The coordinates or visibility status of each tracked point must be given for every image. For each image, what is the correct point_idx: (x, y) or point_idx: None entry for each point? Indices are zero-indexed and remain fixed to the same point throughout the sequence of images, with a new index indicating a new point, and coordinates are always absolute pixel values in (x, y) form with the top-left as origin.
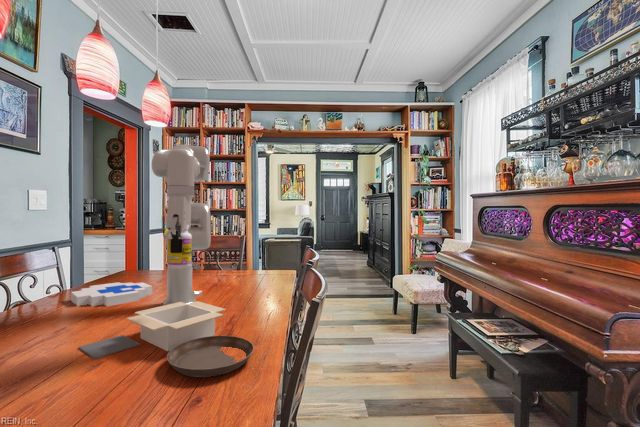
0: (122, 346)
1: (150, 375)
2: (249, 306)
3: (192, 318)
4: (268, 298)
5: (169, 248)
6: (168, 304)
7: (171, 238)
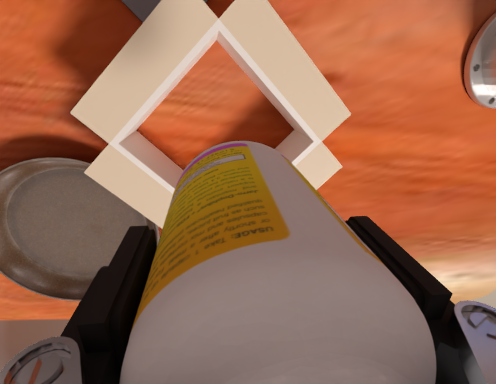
0: (149, 1)
1: (7, 130)
2: (400, 246)
3: (169, 191)
4: (448, 277)
5: (177, 217)
6: (488, 28)
7: (22, 363)
